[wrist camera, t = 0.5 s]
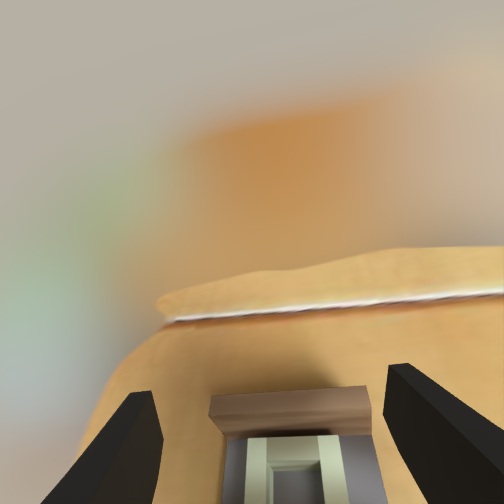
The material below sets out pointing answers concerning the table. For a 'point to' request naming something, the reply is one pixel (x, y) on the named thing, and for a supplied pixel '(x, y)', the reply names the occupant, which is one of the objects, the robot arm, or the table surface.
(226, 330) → the table surface
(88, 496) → the robot arm
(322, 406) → the gray base with frame
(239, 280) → the table surface
